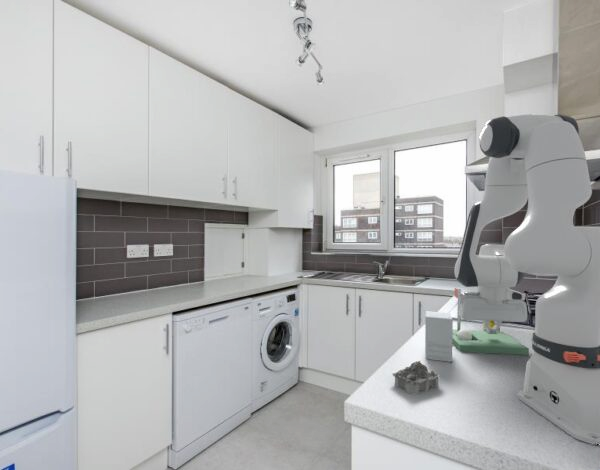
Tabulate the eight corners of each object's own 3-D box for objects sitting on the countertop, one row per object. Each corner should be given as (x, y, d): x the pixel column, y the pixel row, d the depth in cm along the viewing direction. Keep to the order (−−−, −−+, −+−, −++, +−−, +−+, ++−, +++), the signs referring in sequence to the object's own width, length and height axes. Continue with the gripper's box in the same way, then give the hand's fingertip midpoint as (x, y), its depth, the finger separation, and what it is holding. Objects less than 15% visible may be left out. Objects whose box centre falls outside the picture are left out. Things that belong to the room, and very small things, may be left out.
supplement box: (450, 353, 97) (451, 312, 97) (452, 363, 90) (453, 319, 90) (424, 350, 100) (425, 310, 100) (424, 358, 93) (425, 316, 93)
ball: (462, 347, 105) (476, 342, 104) (457, 334, 105) (471, 330, 104) (457, 342, 109) (470, 337, 109) (452, 329, 109) (465, 325, 109)
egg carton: (420, 375, 83) (420, 359, 83) (444, 387, 77) (444, 371, 77) (388, 383, 79) (389, 366, 79) (411, 397, 72) (412, 379, 72)
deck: (528, 354, 97) (529, 299, 96) (459, 351, 99) (460, 297, 99) (497, 334, 116) (498, 288, 116) (440, 331, 118) (441, 286, 118)
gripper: (463, 293, 103) (462, 335, 103) (530, 295, 101) (529, 338, 101) (456, 289, 109) (455, 329, 110) (519, 291, 107) (518, 331, 108)
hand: (491, 333), depth 106 cm, fingers closed
